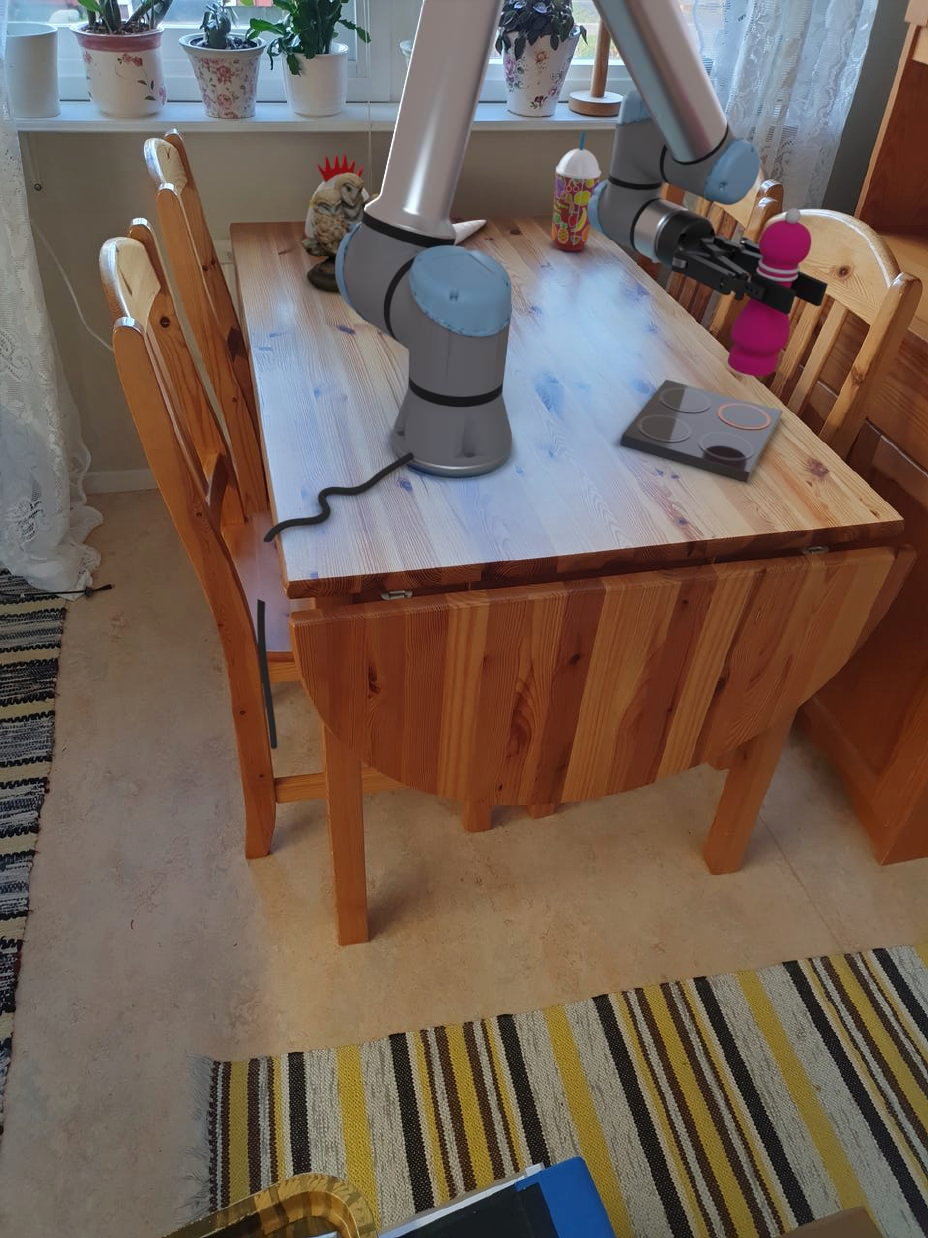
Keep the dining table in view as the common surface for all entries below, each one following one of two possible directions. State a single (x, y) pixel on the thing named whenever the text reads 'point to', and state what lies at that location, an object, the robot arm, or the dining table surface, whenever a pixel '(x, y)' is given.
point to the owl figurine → (334, 226)
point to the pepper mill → (757, 323)
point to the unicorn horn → (467, 229)
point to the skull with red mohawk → (331, 185)
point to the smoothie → (574, 197)
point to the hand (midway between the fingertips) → (806, 298)
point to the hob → (703, 430)
